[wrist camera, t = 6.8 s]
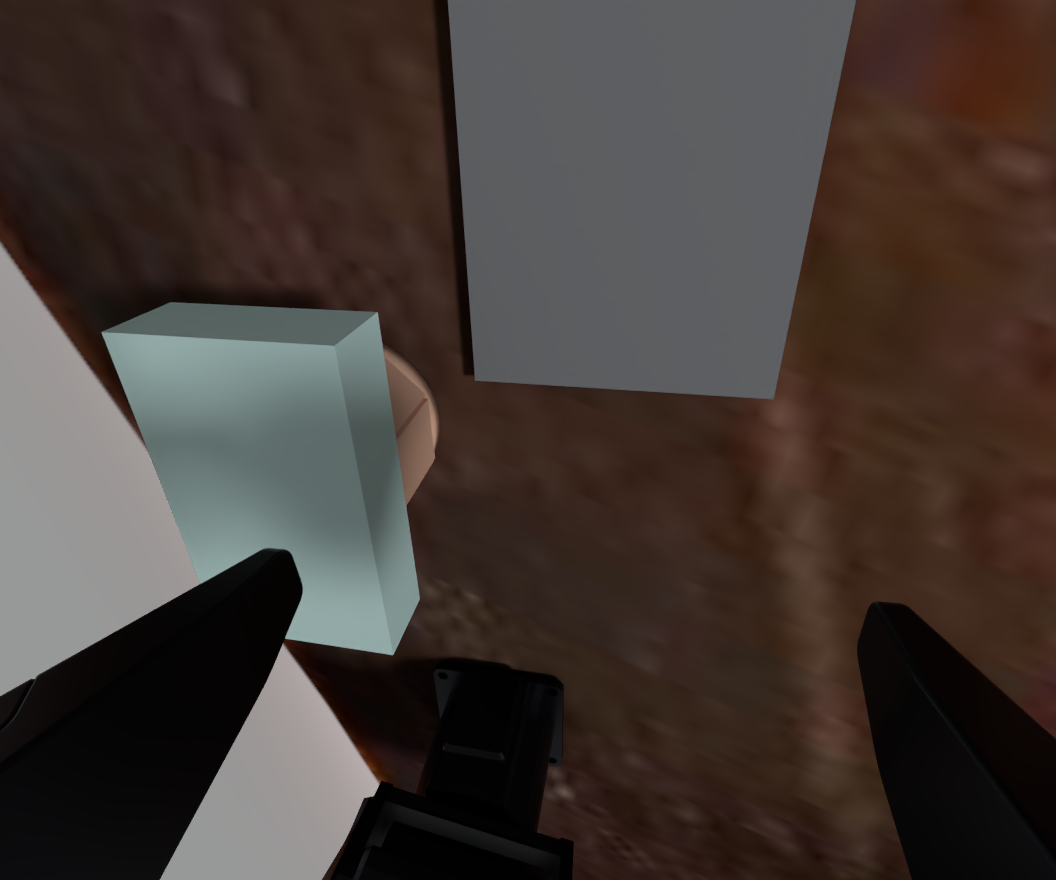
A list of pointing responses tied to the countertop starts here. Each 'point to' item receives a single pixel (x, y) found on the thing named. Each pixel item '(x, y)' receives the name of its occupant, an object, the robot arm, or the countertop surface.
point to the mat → (640, 185)
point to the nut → (412, 419)
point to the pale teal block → (279, 454)
